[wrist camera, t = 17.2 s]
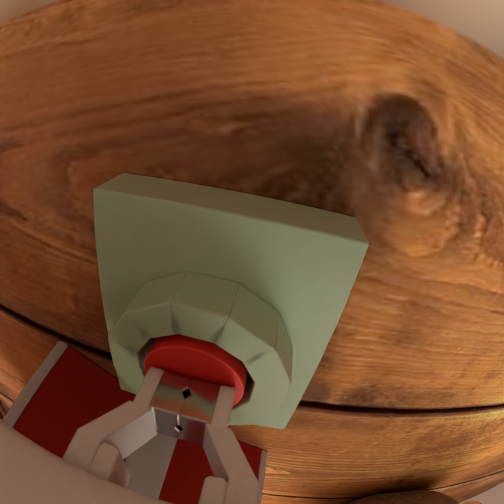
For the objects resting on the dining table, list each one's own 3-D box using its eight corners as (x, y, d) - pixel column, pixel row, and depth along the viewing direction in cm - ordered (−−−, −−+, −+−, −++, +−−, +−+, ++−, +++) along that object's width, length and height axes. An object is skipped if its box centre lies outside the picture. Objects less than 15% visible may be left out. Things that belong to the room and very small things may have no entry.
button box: (123, 172, 11) (58, 206, 7) (356, 217, 11) (385, 274, 7) (134, 361, 16) (107, 414, 13) (286, 398, 16) (281, 459, 12)
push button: (158, 301, 10) (139, 334, 9) (258, 325, 10) (252, 362, 9) (161, 365, 12) (147, 396, 11) (243, 386, 12) (236, 419, 10)
